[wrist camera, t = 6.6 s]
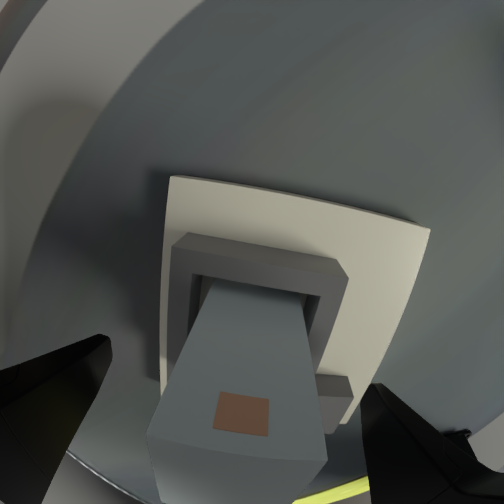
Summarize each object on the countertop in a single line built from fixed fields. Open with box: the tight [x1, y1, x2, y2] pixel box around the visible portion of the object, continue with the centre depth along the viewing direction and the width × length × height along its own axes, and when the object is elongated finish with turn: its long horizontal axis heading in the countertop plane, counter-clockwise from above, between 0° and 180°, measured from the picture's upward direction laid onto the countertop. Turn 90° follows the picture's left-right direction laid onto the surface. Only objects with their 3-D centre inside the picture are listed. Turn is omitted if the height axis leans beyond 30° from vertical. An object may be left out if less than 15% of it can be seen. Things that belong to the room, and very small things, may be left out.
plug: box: [146, 278, 328, 504], centre depth 8 cm, size 4×3×8 cm
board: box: [160, 175, 431, 434], centre depth 12 cm, size 12×11×3 cm
